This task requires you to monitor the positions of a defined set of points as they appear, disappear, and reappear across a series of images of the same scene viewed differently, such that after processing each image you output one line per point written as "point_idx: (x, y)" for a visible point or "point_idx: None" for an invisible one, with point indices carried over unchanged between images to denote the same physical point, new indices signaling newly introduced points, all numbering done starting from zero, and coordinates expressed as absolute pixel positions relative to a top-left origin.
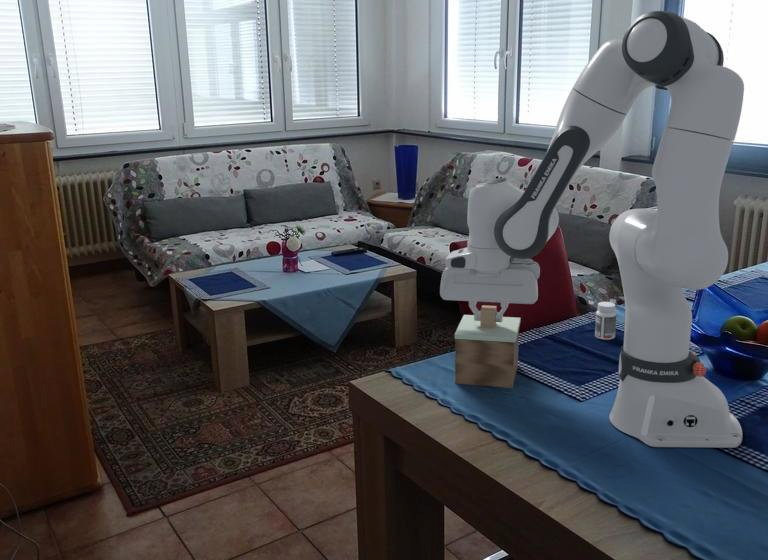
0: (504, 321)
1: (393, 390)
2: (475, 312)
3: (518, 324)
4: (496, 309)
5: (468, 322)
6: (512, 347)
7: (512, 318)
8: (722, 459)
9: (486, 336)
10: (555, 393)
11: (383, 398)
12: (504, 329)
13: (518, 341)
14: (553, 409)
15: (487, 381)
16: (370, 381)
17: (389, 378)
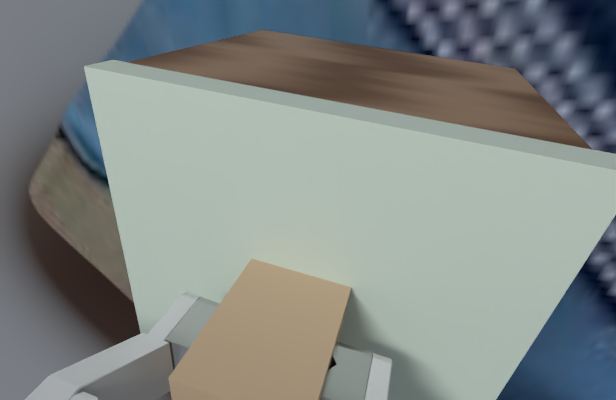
0: (424, 254)
1: (120, 245)
2: (160, 390)
3: (536, 332)
4: (319, 393)
5: (164, 239)
6: None
7: (528, 188)
8: None
9: None
10: (588, 321)
11: (118, 278)
12: (399, 381)
13: (546, 104)
14: (532, 393)
15: None
16: (51, 193)
17: (82, 178)
